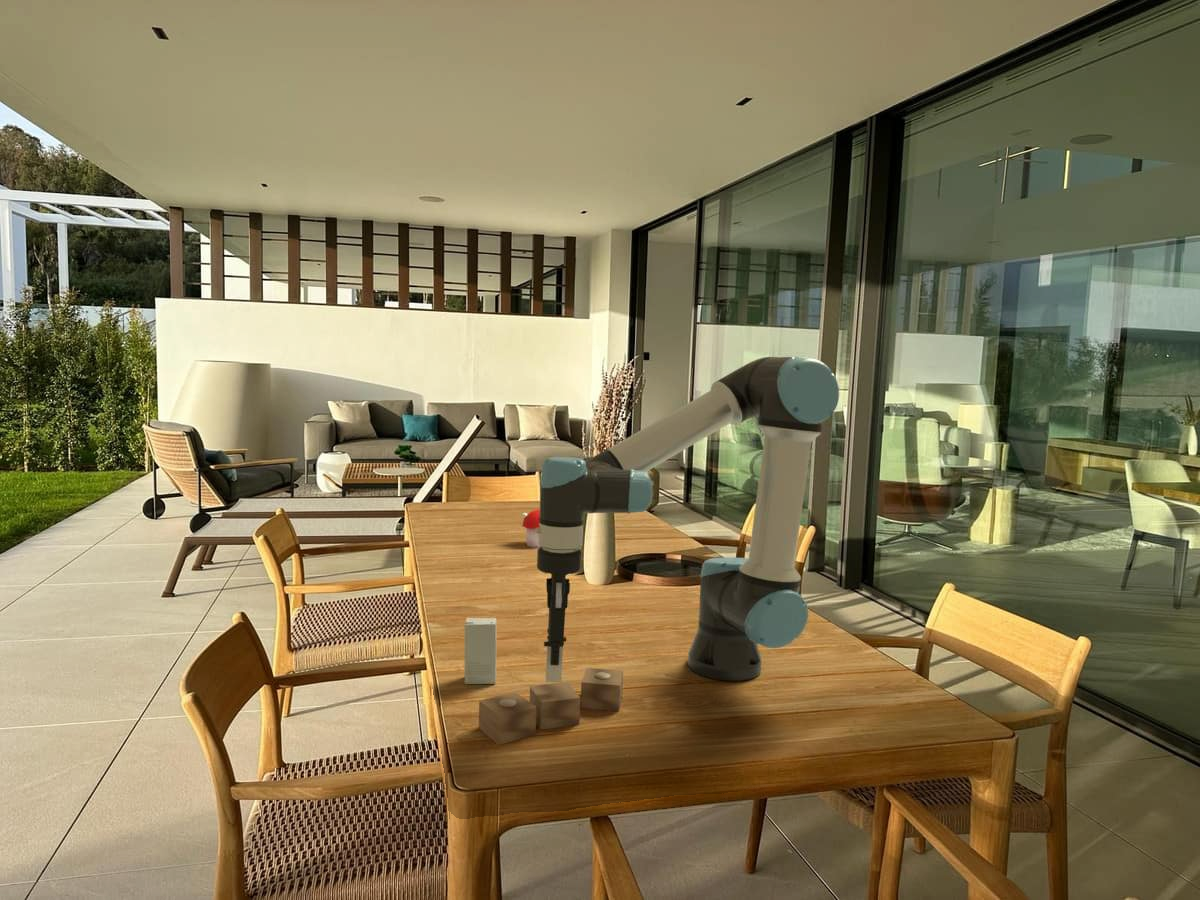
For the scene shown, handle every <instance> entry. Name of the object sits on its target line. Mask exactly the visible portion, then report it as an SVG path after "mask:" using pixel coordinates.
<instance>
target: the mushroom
mask: <svg viewBox="0 0 1200 900" xmlns="http://www.w3.org/2000/svg"><path fill="white" fill-rule="evenodd" d="M539 518H540V509H538V510H537V509H536V510H531V511H530V512H529V513H526V512H523V513H521V519H522V520H523V521H522V525H521V527H524V528H525V529H526V530H525V540H526V546H528V547H530V548H540V547H541V546H540V545H539V544H538V540H539V534H540V533H536V532H535V529H536V528H539V527H540V526H539V523H540V522H539Z"/></svg>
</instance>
